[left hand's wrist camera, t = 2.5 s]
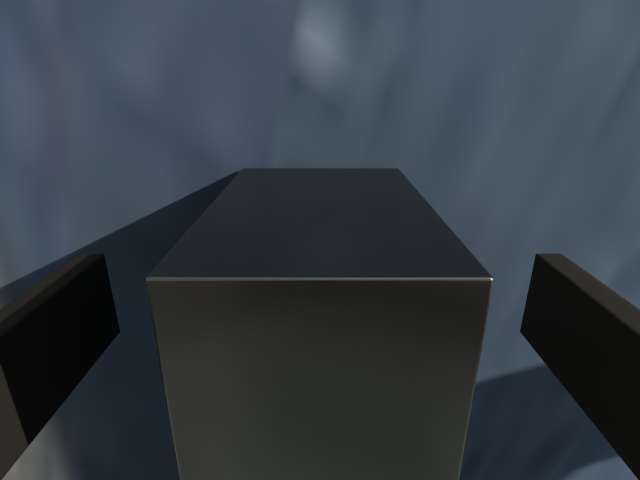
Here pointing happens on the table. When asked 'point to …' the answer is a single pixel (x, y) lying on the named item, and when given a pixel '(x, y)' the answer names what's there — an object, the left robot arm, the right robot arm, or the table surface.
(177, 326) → the bar
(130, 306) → the table surface
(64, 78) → the table surface
